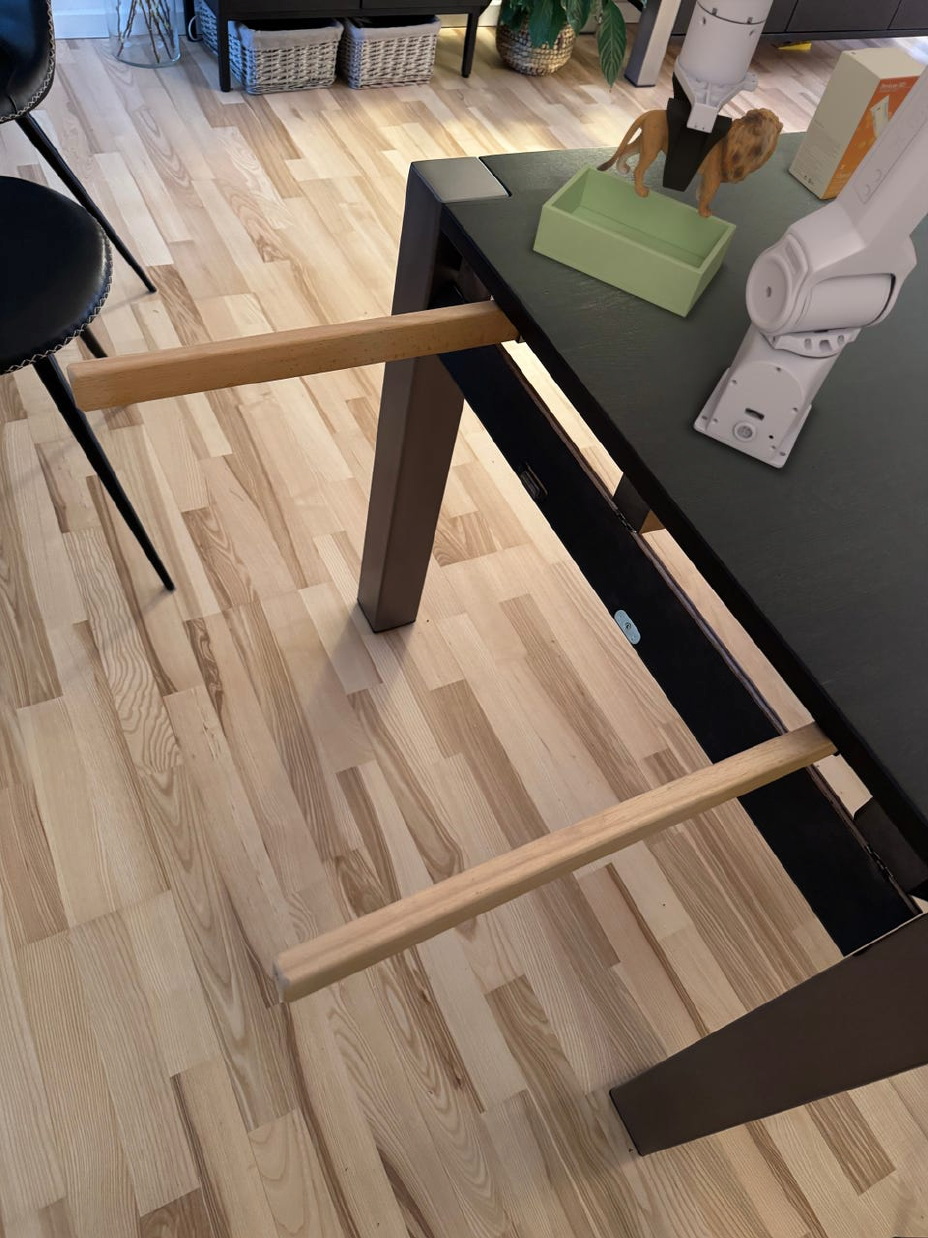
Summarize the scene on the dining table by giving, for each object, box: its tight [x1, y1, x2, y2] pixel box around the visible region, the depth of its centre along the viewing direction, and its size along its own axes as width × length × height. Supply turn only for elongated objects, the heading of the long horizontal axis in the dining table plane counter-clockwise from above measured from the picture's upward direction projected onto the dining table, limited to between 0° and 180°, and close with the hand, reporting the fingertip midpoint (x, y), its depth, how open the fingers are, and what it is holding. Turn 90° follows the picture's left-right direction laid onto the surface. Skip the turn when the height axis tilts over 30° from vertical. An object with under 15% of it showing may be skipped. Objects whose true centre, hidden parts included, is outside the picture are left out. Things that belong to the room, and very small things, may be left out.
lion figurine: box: [596, 107, 784, 218], centre depth 80 cm, size 15×5×9 cm, turn 79°
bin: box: [532, 162, 737, 318], centre depth 86 cm, size 10×16×5 cm, turn 61°
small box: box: [788, 46, 927, 200], centre depth 98 cm, size 8×6×13 cm
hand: (675, 174), depth 82 cm, fingers closed on lion figurine, 4 cm apart
